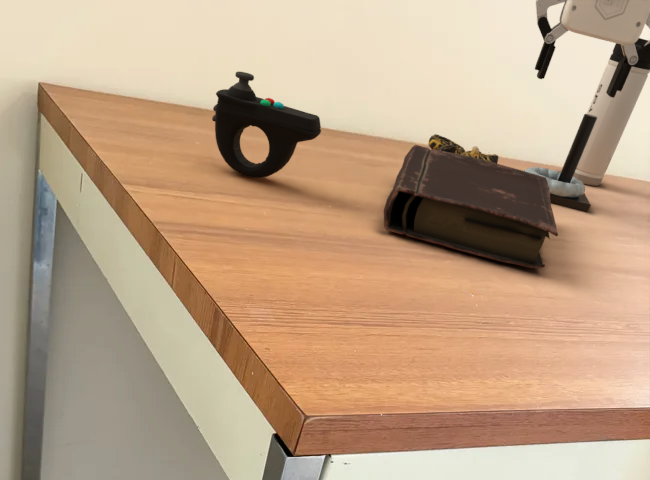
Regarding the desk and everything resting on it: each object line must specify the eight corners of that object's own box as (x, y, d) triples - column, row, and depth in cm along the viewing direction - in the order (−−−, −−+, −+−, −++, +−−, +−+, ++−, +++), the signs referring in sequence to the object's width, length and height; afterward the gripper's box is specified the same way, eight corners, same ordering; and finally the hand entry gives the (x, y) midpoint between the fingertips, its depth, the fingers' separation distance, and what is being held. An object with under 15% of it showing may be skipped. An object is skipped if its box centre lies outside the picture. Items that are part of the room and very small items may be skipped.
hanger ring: (577, 189, 122) (582, 176, 121) (584, 203, 115) (590, 190, 114) (519, 174, 122) (524, 161, 121) (523, 187, 115) (528, 174, 114)
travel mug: (603, 183, 135) (665, 44, 123) (595, 188, 130) (657, 44, 118) (567, 171, 137) (624, 33, 125) (557, 175, 132) (615, 33, 120)
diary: (377, 230, 88) (391, 182, 85) (397, 180, 108) (409, 140, 105) (548, 278, 87) (568, 230, 84) (536, 218, 107) (553, 178, 104)
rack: (580, 198, 122) (615, 118, 116) (587, 212, 116) (624, 128, 109) (528, 184, 123) (559, 103, 116) (532, 197, 116) (565, 112, 110)
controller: (213, 159, 98) (228, 65, 92) (310, 189, 96) (332, 95, 90) (199, 165, 95) (214, 68, 89) (300, 196, 93) (322, 99, 87)
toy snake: (439, 113, 126) (500, 136, 126) (426, 144, 129) (487, 166, 128) (431, 138, 112) (500, 163, 112) (417, 172, 115) (485, 197, 115)
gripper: (569, -86, 98) (513, 74, 108) (713, -51, 97) (642, 107, 108) (563, -84, 104) (510, 67, 114) (698, -51, 103) (632, 99, 114)
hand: (574, 86), depth 111 cm, fingers open, 9 cm apart
